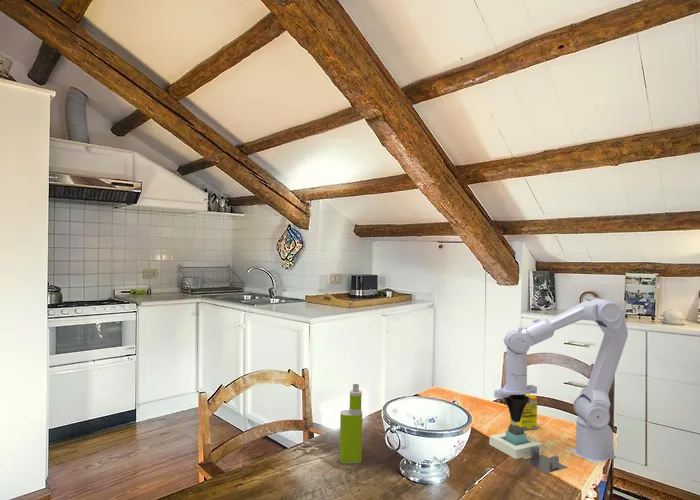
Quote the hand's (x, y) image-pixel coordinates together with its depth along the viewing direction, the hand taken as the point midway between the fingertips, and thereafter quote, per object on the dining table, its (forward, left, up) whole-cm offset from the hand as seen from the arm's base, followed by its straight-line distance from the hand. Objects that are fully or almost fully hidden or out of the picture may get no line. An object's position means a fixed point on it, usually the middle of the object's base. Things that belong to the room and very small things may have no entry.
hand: (515, 420), depth 124 cm
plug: (0, 0, -8) cm, 9 cm away
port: (0, 0, -8) cm, 8 cm away
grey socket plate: (0, +10, -8) cm, 13 cm away
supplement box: (-15, -11, -9) cm, 20 cm away
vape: (+46, -13, -9) cm, 49 cm away
